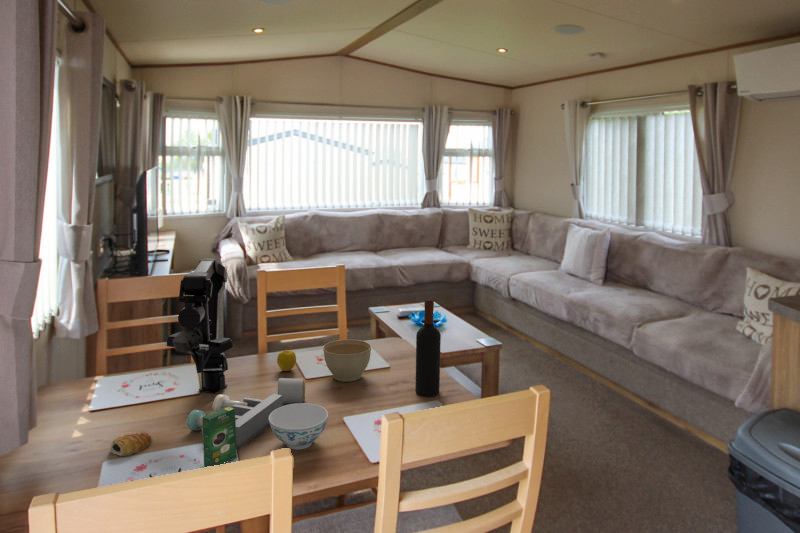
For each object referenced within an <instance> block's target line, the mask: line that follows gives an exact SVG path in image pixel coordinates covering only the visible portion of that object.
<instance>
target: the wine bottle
mask: <svg viewBox="0 0 800 533" xmlns="http://www.w3.org/2000/svg"><path fill="white" fill-rule="evenodd" d="M434 301H435V300H433V299H430V298H429V299H427V298H426V299H425V300H424V302H423V303H424V319H423V320H424V321H423V325H422V326H421V327H420V328H418V329H417V332H416V337H415V339H416V340H415V343H416V346H415V391H414V392H415V394H416V395H417V396H419V397H424V398H433V397H437V396H439V394H440V386H441V385H440V384H441V383H440V376H441V340H442V338H441V337H442V336H441V332H440V330H439V329H438V328H437V327H436V326H435V325H434V306H435V302H434Z"/></svg>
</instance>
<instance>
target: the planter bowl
mask: <svg viewBox="0 0 800 533" xmlns="http://www.w3.org/2000/svg"><path fill="white" fill-rule="evenodd" d="M322 350H323V358H324V361H325V364H326V367H327V368H328V370H329V372H330V373H331V374H332V376H333V379H334V380H336V381H338V382H344V383H345V382H346V383H347V382H354V381H355V382H356V381H359V380H360V379H361V378H362V375H363V373H364V372H365V370H366V369H367V368H368V366H369V365H368V364H369V362H370V360H371V359H370V358H371V351H372V345H371V344H370V343H369V342H367V341H364V340H360V339H339V340H333V341H329V342H327V343H326V344H324V345H323V347H322Z"/></svg>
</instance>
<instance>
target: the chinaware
mask: <svg viewBox="0 0 800 533" xmlns="http://www.w3.org/2000/svg"><path fill="white" fill-rule="evenodd" d="M328 417H329V412H328V410H327V409H326V408H325V407H323V406H321V405H319V404H314V403H307V402H303V403H296V404H284V405H282V407H280V408H277V409H276V410H274V411H273V412H272V413H271V414H270V415H269V423H270V426H269V427H270V429H271V431H272V432H273V434H274V436H275V437H276V438H277V439H278V440H279V441H280V442H282V443H283V444H285V445H286V447H287V448H289V449H291V450H303V449H308V448H309V447H310V446H312V444H313V442H314V441H316V440H318V438H319V437H320V436H321V435H322V433H323V432H324V430H325V428H326V425H327V423H328Z"/></svg>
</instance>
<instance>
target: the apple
mask: <svg viewBox="0 0 800 533" xmlns="http://www.w3.org/2000/svg"><path fill="white" fill-rule="evenodd" d="M276 362H277V365H278V367H279V369H280V370H281V371H283V372H289V371H291V370H292V369H293V368H294V367H295V365H296V362H297V355H296V353H295V351H293V350H290V349H289V350H284V349H283V350H281V351H280V352H279V353H278V355H277V358H276Z"/></svg>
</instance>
